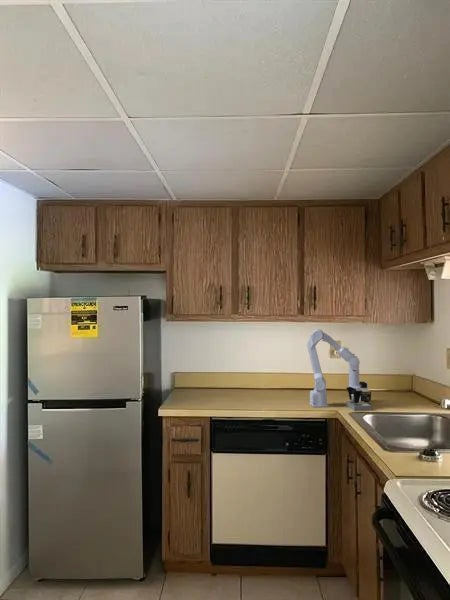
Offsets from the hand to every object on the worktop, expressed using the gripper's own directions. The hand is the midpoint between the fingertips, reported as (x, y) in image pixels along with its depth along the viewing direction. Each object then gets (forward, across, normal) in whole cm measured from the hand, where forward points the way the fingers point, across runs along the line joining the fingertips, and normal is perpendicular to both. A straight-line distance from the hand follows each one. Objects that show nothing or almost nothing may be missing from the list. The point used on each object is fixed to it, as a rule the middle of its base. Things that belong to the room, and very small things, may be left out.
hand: (354, 401), depth 279 cm
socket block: (+3, -3, -2) cm, 5 cm away
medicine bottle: (+3, +13, -10) cm, 17 cm away
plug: (+3, 0, 0) cm, 3 cm away
